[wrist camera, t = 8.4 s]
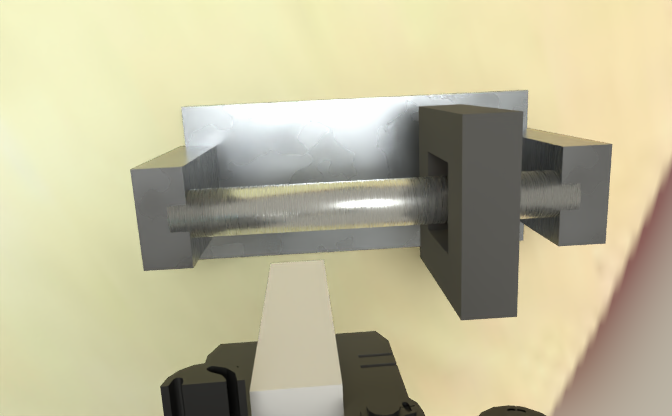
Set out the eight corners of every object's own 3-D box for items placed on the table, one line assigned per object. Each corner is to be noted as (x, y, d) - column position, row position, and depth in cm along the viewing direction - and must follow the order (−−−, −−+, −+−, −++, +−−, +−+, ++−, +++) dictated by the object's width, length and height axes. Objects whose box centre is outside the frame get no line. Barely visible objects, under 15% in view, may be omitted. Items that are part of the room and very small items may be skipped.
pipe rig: (192, 256, 36) (147, 322, 26) (176, 107, 34) (119, 115, 24) (525, 236, 37) (607, 293, 27) (530, 89, 35) (621, 91, 25)
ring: (420, 257, 32) (461, 320, 24) (418, 106, 30) (462, 114, 22) (461, 254, 33) (516, 316, 24) (461, 104, 31) (523, 111, 22)
